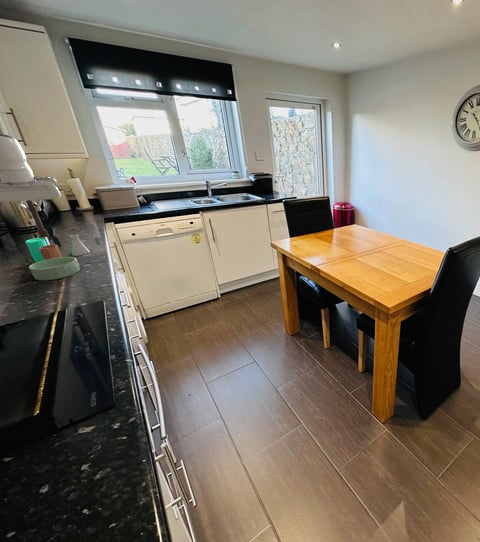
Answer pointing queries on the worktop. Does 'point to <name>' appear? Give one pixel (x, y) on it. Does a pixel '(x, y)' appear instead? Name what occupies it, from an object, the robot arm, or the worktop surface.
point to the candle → (36, 248)
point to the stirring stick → (37, 220)
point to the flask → (78, 246)
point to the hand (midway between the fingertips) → (33, 211)
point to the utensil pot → (50, 251)
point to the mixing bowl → (54, 268)
